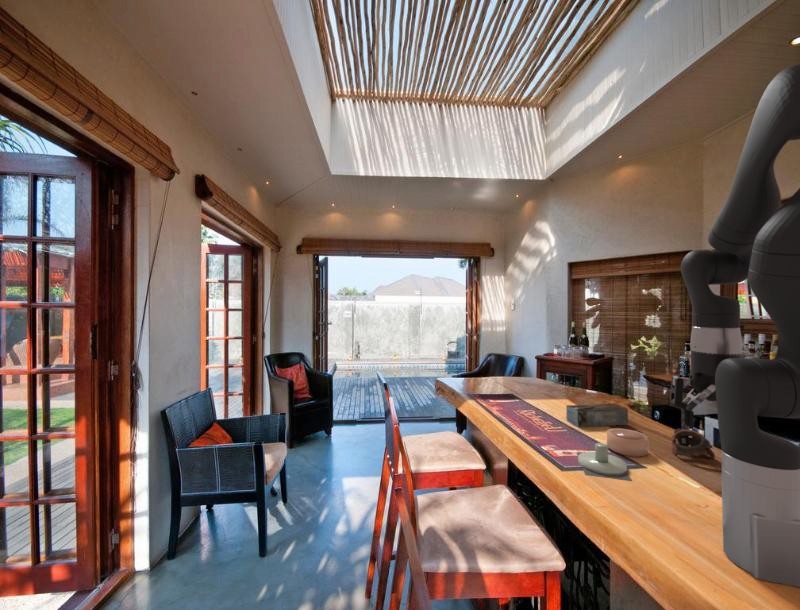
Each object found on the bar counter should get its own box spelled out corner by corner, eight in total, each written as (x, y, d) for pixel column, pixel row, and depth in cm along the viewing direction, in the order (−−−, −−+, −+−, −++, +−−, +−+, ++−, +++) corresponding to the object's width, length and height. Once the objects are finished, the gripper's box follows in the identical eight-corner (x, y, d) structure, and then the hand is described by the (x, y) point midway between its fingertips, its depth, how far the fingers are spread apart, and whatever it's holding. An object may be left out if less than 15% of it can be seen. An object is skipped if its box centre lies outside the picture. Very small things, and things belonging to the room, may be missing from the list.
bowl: (654, 461, 93) (653, 442, 93) (611, 456, 96) (611, 438, 96) (641, 447, 102) (641, 430, 102) (603, 443, 106) (603, 426, 106)
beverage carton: (565, 420, 128) (565, 403, 128) (614, 419, 129) (614, 401, 129) (577, 428, 120) (577, 409, 120) (629, 426, 121) (629, 407, 121)
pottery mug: (728, 466, 91) (718, 442, 90) (691, 479, 93) (681, 455, 91) (693, 438, 103) (684, 416, 101) (661, 450, 104) (652, 428, 103)
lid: (632, 478, 83) (632, 456, 83) (581, 471, 86) (581, 450, 87) (620, 459, 93) (620, 440, 93) (575, 453, 97) (575, 435, 97)
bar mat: (632, 483, 82) (632, 480, 82) (585, 476, 85) (585, 474, 85) (616, 458, 95) (616, 456, 95) (576, 454, 98) (576, 452, 98)
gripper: (680, 351, 67) (680, 433, 67) (775, 353, 62) (774, 442, 63) (664, 345, 74) (665, 420, 75) (749, 347, 69) (749, 427, 70)
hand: (715, 430), depth 69 cm, fingers open, 8 cm apart
